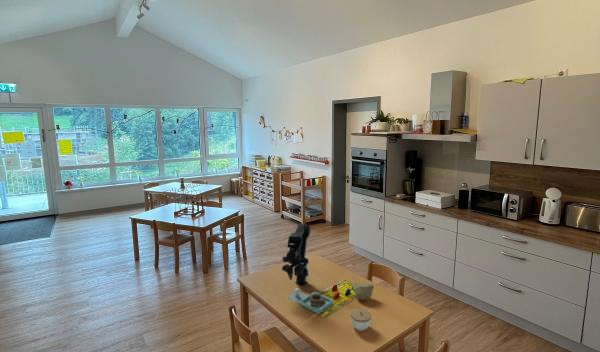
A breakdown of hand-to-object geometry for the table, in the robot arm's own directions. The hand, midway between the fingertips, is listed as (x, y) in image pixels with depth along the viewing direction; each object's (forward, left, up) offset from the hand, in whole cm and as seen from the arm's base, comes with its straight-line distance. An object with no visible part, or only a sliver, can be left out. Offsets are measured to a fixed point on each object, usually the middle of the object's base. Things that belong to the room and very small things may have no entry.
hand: (295, 277), depth 211 cm
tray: (0, +17, -12) cm, 21 cm away
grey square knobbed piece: (+2, +3, -12) cm, 13 cm away
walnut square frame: (0, +17, -11) cm, 20 cm away
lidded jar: (+1, +49, -12) cm, 51 cm away
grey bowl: (-25, +33, -12) cm, 43 cm away
